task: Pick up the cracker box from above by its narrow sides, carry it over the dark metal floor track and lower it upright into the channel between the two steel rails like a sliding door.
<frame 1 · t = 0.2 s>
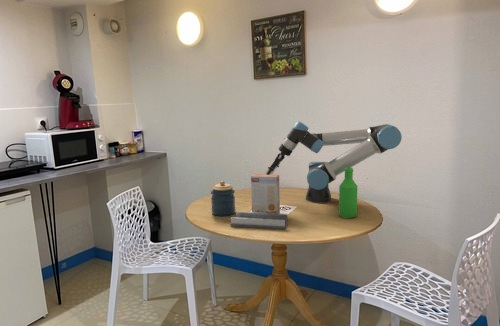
hand: (266, 177, 198), 16 cm above the table, tool tilted 35°, fingers open, 13 cm apart
cracker box: (266, 214, 183), on the table
canister: (223, 213, 186), on the table
door track: (259, 223, 168), on the table
bottle: (347, 216, 176), on the table
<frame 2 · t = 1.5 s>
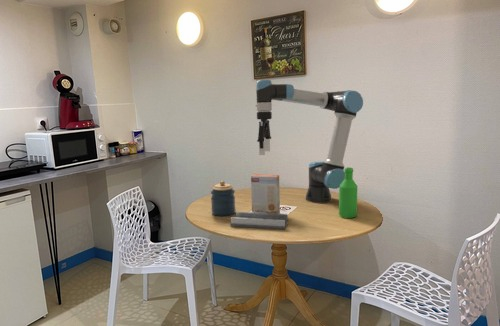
hand: (264, 153, 177), 33 cm above the table, tool pointing down, fingers open, 13 cm apart
nothing on the table moved.
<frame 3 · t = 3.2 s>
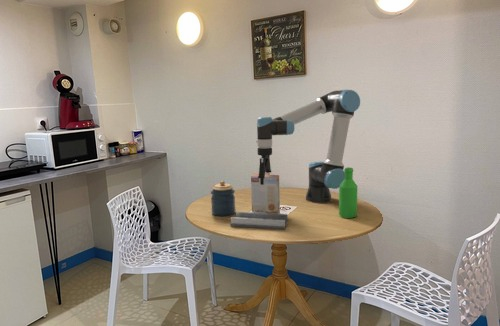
hand: (265, 187, 180), 14 cm above the table, tool pointing down, fingers open, 13 cm apart
nothing on the table moved.
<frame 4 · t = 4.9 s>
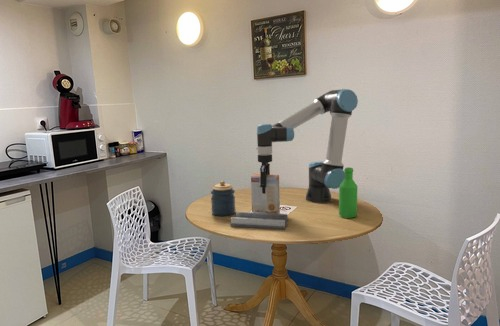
hand: (265, 197, 181), 9 cm above the table, tool pointing down, fingers closed on cracker box, 6 cm apart
cracker box: (265, 214, 183), on the table, touching gripper
everything else where it was.
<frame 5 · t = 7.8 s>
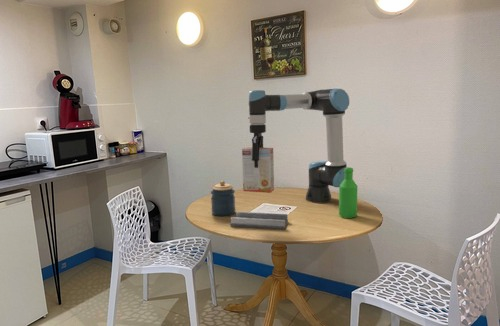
hand: (258, 172, 164), 25 cm above the table, tool pointing down, fingers closed on cracker box, 6 cm apart
cracker box: (258, 191, 165), point 16 cm above the table, touching gripper
everything else where it was.
when the fingers open (12 cm above the table, at t = 10.7 s): cracker box drops 2 cm, resting on door track.
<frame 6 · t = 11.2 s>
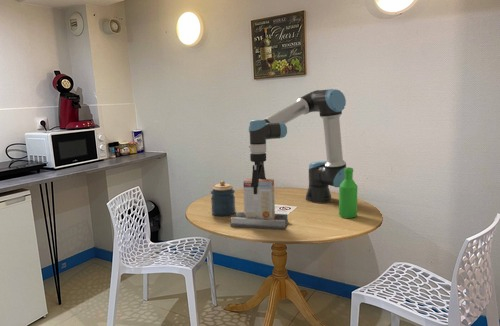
hand: (259, 196, 165), 14 cm above the table, tool pointing down, fingers open, 13 cm apart
cracker box: (259, 221, 168), point 1 cm above the table, touching door track
everything else where it was.
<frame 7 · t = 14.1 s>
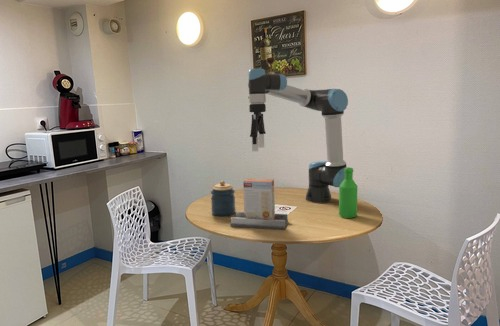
hand: (258, 149, 162), 37 cm above the table, tool pointing down, fingers open, 13 cm apart
nothing on the table moved.
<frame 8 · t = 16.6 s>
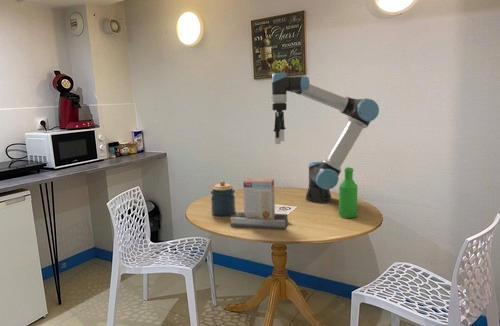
hand: (279, 142, 187), 37 cm above the table, tool pointing down, fingers open, 13 cm apart
nothing on the table moved.
at the end: cracker box inside the target area on the door track (0.4 cm from its centre), point 0.8 cm above the door track's base; cracker box tilted 0°; the gripper is holding nothing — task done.
